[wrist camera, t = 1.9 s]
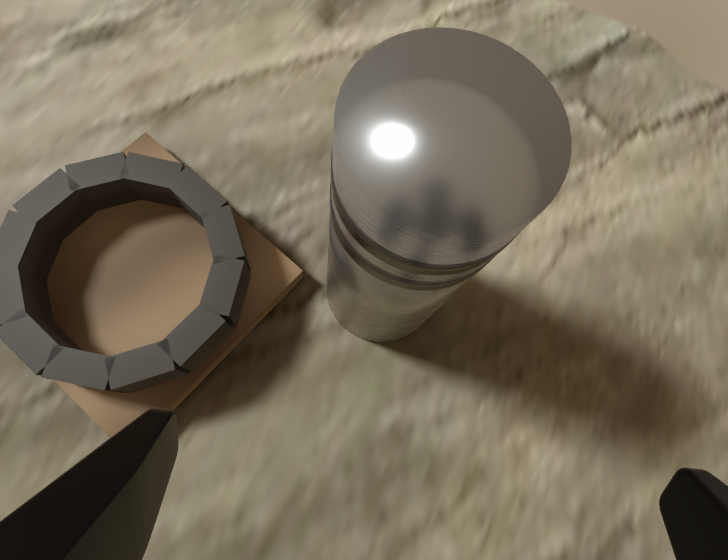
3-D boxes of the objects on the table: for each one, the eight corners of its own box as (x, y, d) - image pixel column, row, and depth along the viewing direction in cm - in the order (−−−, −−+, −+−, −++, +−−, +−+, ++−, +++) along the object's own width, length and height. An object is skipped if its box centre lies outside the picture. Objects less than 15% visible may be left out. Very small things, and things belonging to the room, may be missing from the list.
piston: (454, 285, 23) (616, 124, 10) (386, 365, 21) (476, 292, 9) (374, 218, 23) (436, -11, 11) (303, 292, 22) (280, 127, 10)
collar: (303, 277, 22) (301, 256, 19) (134, 450, 20) (102, 455, 17) (152, 143, 23) (129, 105, 21) (-26, 290, 21) (-81, 269, 18)
